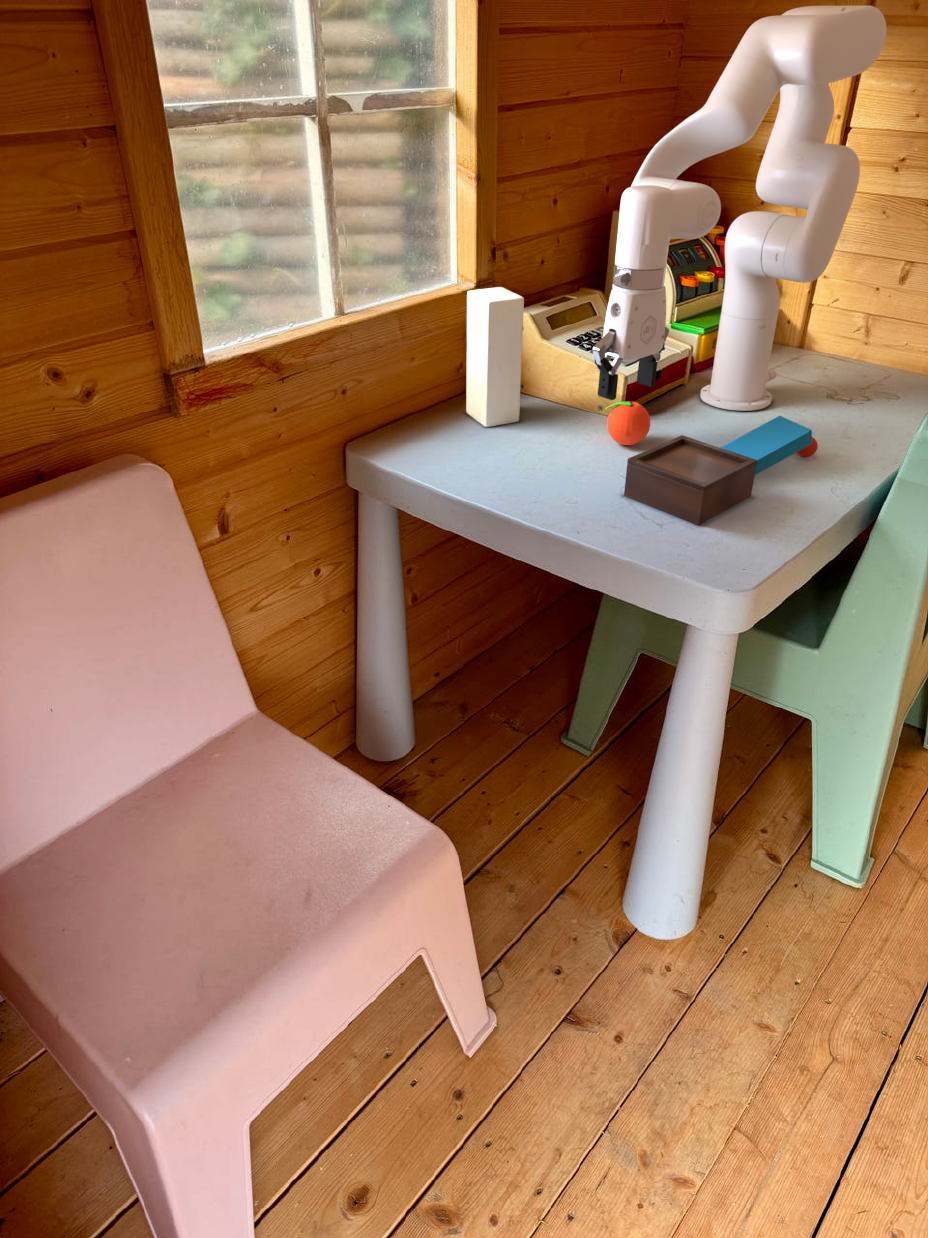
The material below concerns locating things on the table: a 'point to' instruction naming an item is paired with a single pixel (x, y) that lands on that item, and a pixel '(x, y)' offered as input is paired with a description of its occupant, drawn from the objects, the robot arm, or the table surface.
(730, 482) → the tray
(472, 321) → the tall white pillar block
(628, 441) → the clementine
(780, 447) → the lever
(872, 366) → the table surface
